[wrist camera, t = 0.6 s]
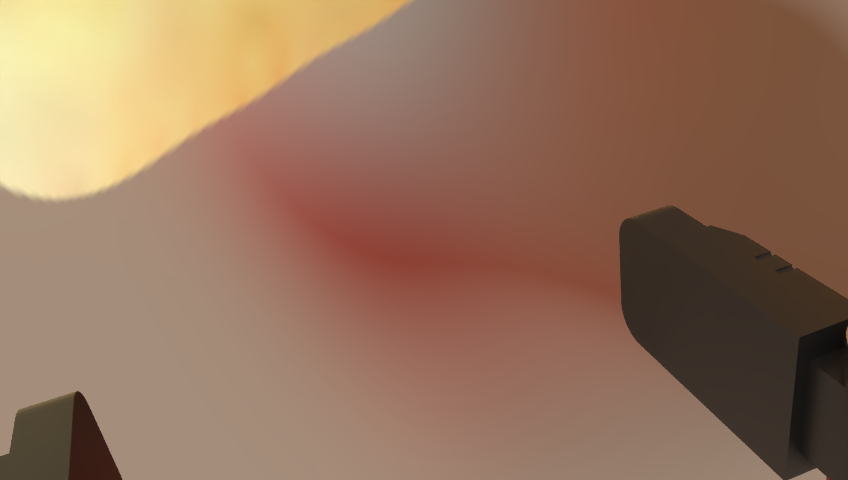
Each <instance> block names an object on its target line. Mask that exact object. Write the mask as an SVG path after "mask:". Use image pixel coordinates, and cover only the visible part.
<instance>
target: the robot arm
mask: <svg viewBox="0 0 848 480" xmlns="http://www.w3.org/2000/svg"><path fill="white" fill-rule="evenodd" d="M619 241H620V272H621V273H620V274H621V303H622V311H623V315H624V318H625V321H626V324H627V326H628V328H629V330H630V332H631V334H632V335H633V337H634V338H635V339H636V341H637V342H638V343H639V344H640V345H641V346H643V348H644V349H645V350H646V351H647V352H649V353H650V354H651V355H652V356H653V357H654V358H655V359H656V360H657V361H658V362H659V363H660V364H661V365H662V366H663V367H665V369H667V370H668V371H669V372H670V373H671V374H672V375H673V376H674V377H675V378H676V379H677V380H678V381H679V382H680V383H681V384H682V385H684V386H685V387H686V388H687V389H688V390H689V391H690V392H691V393H692V394H693V395H694V396H695V397H696V398H697V399H698V400H699V401H700V402H702V403H703V404H704V405H705V406H706V407H707V408H708V409H709V410H710V411H711V412H712V413H713V414H714V415H715V416H716V417H718V419H719V420H721V421H722V422H723V423H724V424H725V425H726V426H727V427H728V428H729V429H730V430H731V431H732V432H733V433H734V434H735V435H736V436H738V438H740V439H741V440H742V441H743V442H744V443H745V444H746V445H747V446H748V447H749V448H750V449H751V450H752V451H753V452H754V453H756V454H757V455H758V456H759V457H760V458H761V459H762V460H763V461H764V462H765V463H766V464H767V465H768V466H769V467H770V468H771V469H772V470H773V471H774V472H776V473H777V474H778V475H779V476H780V477H781V478H782V479H783V480H788V479H791V478H793V477H796V476H798V475H801V474H803V473H805V472H808V471H810V470H812V469H815V468H818V469H819V470H820V471H821V472H822V473H824V474H825V475H826V476H827V477H826V480H848V299H847V298H845V297H843V296H842V295H840V294H838V293H837V292H835V291H834V290H832V289H830V288H829V287H827V286H825V285H824V284H822V283H821V282H819V281H817V280H816V279H814V278H813V277H811V276H809V275H808V274H806V273H804V272H803V271H801V270H800V269H798V268H796V269H793V268H792V264H790V263H788V262H787V261H785V260H783V259H782V258H780V257H779V256H777V255H773V256H772V255H771V252H770V251H769V250H767V249H766V248H764V247H762V246H761V245H759V244H758V243H755V242H754V241H753V240H751V239H749V238H748V237H746V236H744V235H741V234H738V233H734V232H730V231H727V230H724V229H721V228H717V227H714V226H708V227H706V226H705V225H703V224H702V223H700V222H698V221H697V220H695V219H694V218H692V217H690V216H689V215H687V214H686V213H684V212H683V211H681V210H680V209H678V208H676V207H674V206H666V207H663V208H659V209H656V210H653V211H650V212H647V213H643V214H641V215H637V216H634V217H631V218H628V219H625V220H624V221H623V222H622V224H621V227H620V232H619ZM0 480H122V478H121V475H120V473H119V471H118V468H117V466H116V464H115V462H114V460H113V458H112V455H111V454H110V451H109V449H108V446H107V444H106V442H105V440H104V438H103V435H102V433H101V431H100V429H99V427H98V425H97V422H96V420H95V418H94V416H93V414H92V411H91V409H90V407H89V405H88V403H87V401H86V399H85V397H84V396H83V395H82V394H81V393H80V392H79V391H77V392H73V393H71V394H67V395H64V396H61V397H58V398H54V399H51V400H48V401H45V402H42V403H39V404H35V405H32V406H29V407H26V408H23V409H20V410H18V412H17V414H16V417H15V423H14V430H13V435H12V441H11V448H10V453H9V454H6V455H3V456H0Z"/></svg>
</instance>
